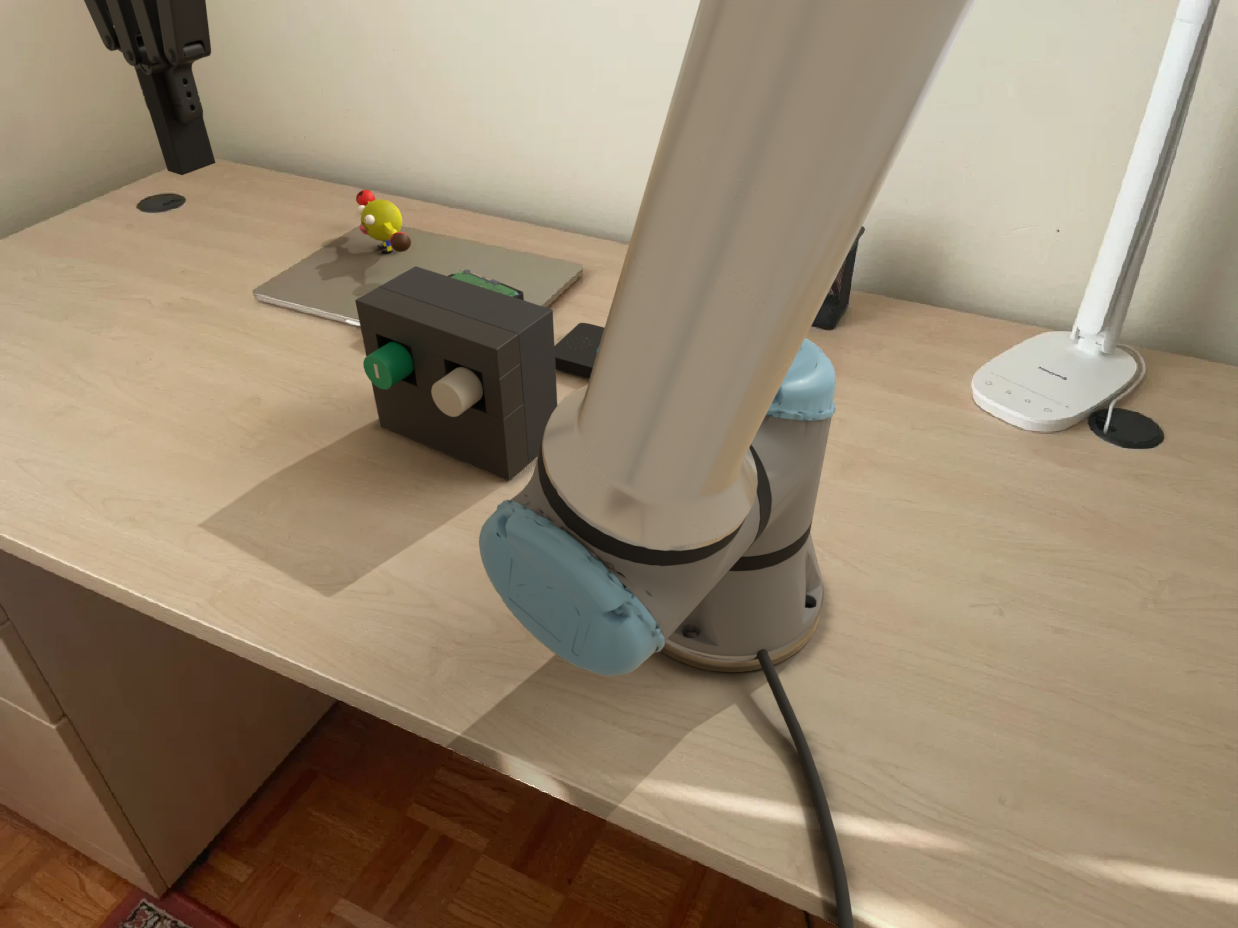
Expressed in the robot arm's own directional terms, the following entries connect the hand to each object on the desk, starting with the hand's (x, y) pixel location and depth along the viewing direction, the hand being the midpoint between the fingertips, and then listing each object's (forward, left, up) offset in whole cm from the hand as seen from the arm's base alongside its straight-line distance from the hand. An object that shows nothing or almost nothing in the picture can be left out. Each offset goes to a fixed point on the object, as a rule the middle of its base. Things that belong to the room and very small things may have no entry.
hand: (191, 166), depth 62 cm
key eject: (0, -16, -23) cm, 28 cm away
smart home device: (+11, -37, -31) cm, 49 cm away
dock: (+6, -17, -30) cm, 35 cm away
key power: (+6, -11, -23) cm, 26 cm away
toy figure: (+50, -14, -31) cm, 60 cm away
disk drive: (+28, -19, -31) cm, 46 cm away
